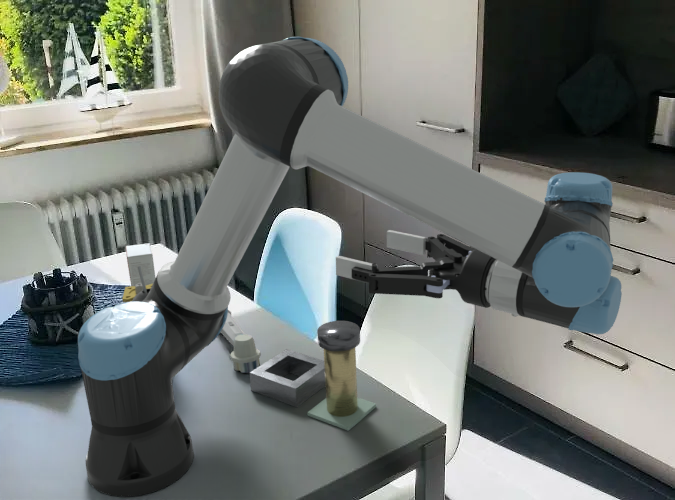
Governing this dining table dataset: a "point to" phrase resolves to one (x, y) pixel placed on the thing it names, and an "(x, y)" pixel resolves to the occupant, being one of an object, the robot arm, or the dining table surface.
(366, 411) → the mat
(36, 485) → the dining table surface
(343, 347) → the tan and grey cylinder
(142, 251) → the small box
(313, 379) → the box
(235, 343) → the white handheld tool
